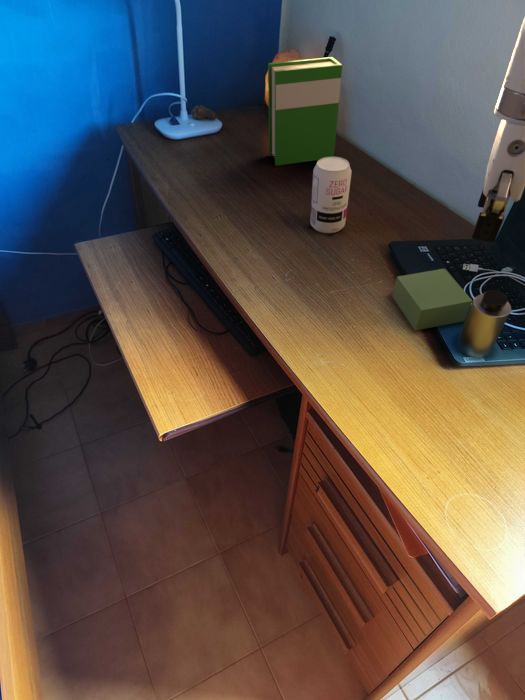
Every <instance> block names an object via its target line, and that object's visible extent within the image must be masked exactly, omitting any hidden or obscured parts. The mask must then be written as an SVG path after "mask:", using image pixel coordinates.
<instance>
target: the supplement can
mask: <svg viewBox="0 0 525 700" xmlns="http://www.w3.org/2000/svg"><path fill="white" fill-rule="evenodd" d="M350 165H351V164H350V162H349V161H348V160H347V159H346V158H343V157H340V156H334V157H325V158H322V159H320V160H317V162H316V164H315V166H314V168H313V170H312V171H313V172H312V186H311V201H310V202H311V204H310V217H309V218H310V219H309V221H310V222H309V223H310V226H311V227H312V228H313V229H314V230H315V231H316V232H318V233H322V234H335V233H337V232H340V231H341V230H342V229H344V227H345V226H346V221H347V214H348V213H347V212H348V205H349V196H350V190H351V189H350V188H351V181H352V173H353V172H352V169H351V166H350Z"/></svg>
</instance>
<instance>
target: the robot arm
mask: <svg viewBox="0 0 525 700" xmlns="http://www.w3.org/2000/svg"><path fill="white" fill-rule="evenodd" d="M515 42H516V43H515V44H514V48H513V51H512V54H511V58H510V61H509V63H508V65H507V66H508V67H507V70H506V74H505V76H504V79H503V82H502V85H501V89H500V92H499V95H498V99H497V102H496V104H495V107H494V110H493V113H494V115H495V116H496V117H497V118H499V119H500V123H499V126H498V129H497V131H496V135H495V138H494V142H493V144H492V147H491V151H490V155H489V159H488V161H487V167H486V172H485V177H484V183H483V188H482V191H481V194H480V196H479V199H478V202H477V207H478V208H483V209H482V211H480V212H479V213H478V217H477V219H476V223H475V225H474V229H473V231H472V234H471V238H472V239H473V240H478V241H482V242H488V243H494V242H496V240H497V237H498V235H499V232H500V229H501V228H502V224H503V222H504V220H505V214H506V211H507V208H508V204H509V201H510V200H511V201H513V202H515V203H516V202H519V201H521V198H522V196H523V193H524V191H525V15H524V17H523V21H522V23H521V26H520V30H519V32H518V35H517V39H516V41H515Z"/></svg>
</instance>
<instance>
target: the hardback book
mask: <svg viewBox="0 0 525 700" xmlns="http://www.w3.org/2000/svg"><path fill="white" fill-rule="evenodd" d="M267 71H268V72H267V76H268V78H267V81H268V82H267V87H268V90H267V91H268V94H267V95H268V96H267V97H268V156H269V157H273V158H274V165H275V167H277V166H285V165H291V164H299V163H300V164H301V163H306V162H313V161H318V160H320V159H322V158H325V157H335V148H336V140H337V139H336V137H337V129H338V128H337V127H338V117H339V108H340V107H339V105H340V97H341V96H340V95H341V84H342V74H343V64H342V63H341V62H339V61H338V60H337V59H336V58H334V57H333V56H327V57H317V58H308V59H298V60H297V59H296V60H288V61H278V62H268V63H267ZM269 151H270V152H272V153H269ZM273 154H274V155H273ZM274 156H275V157H274Z"/></svg>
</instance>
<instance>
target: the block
mask: <svg viewBox="0 0 525 700" xmlns="http://www.w3.org/2000/svg"><path fill="white" fill-rule="evenodd" d="M392 299H393V300H394V302H395V304H397V306H398V308H399V310H401V312H402V313H403V315H404V317H405V318H406V319H407V321H408V322H409V323H410V325H411V327H412V328H413V330H414V331H421V330H426V329H431V328H436V327H441V326H447V325H451V324H457V323H462V322H465V320H466V318H467V315H468V313H469V310H470V308H471V305H472V303H473V300H472V298H471V297H470V296H469V295H468V294H467V293H466V291H465V290H464V289H463V288H462V287H461V285H460V284H459V283H458V282H457V281H456V280H455V278H454V277H453V276H452V275H451V274H450V272H448V270H447V269H446V268H439V269H434V270H428V271H422V272H416V273H411V274H406V275H399V276H397V277H396V280H395V283H394V288H393V292H392Z"/></svg>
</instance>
